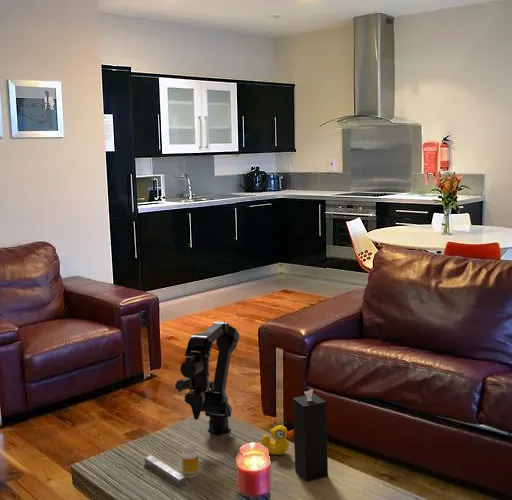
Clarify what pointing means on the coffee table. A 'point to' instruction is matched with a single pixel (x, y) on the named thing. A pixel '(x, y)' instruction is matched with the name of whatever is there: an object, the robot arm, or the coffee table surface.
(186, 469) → the supplement bottle
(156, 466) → the price rail
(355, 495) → the coffee table surface
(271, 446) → the duckling
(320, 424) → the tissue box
